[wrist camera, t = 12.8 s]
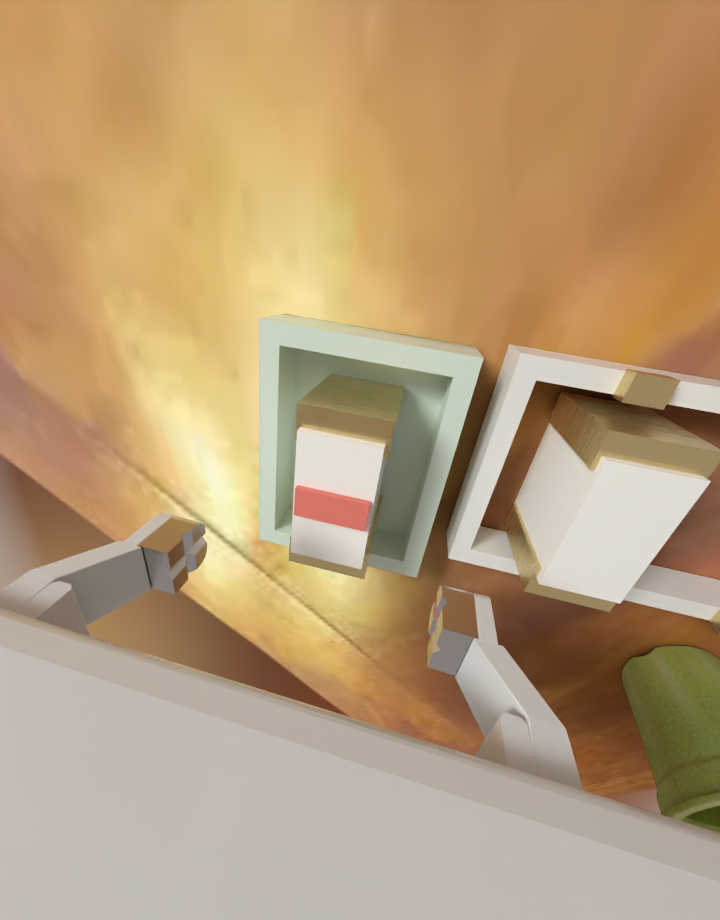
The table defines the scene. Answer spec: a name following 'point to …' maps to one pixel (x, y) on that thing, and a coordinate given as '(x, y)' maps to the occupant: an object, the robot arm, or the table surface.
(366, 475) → the block
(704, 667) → the plant pot
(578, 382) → the clip rack
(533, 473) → the plain fuse
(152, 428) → the table surface
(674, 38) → the table surface
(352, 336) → the sage tray
